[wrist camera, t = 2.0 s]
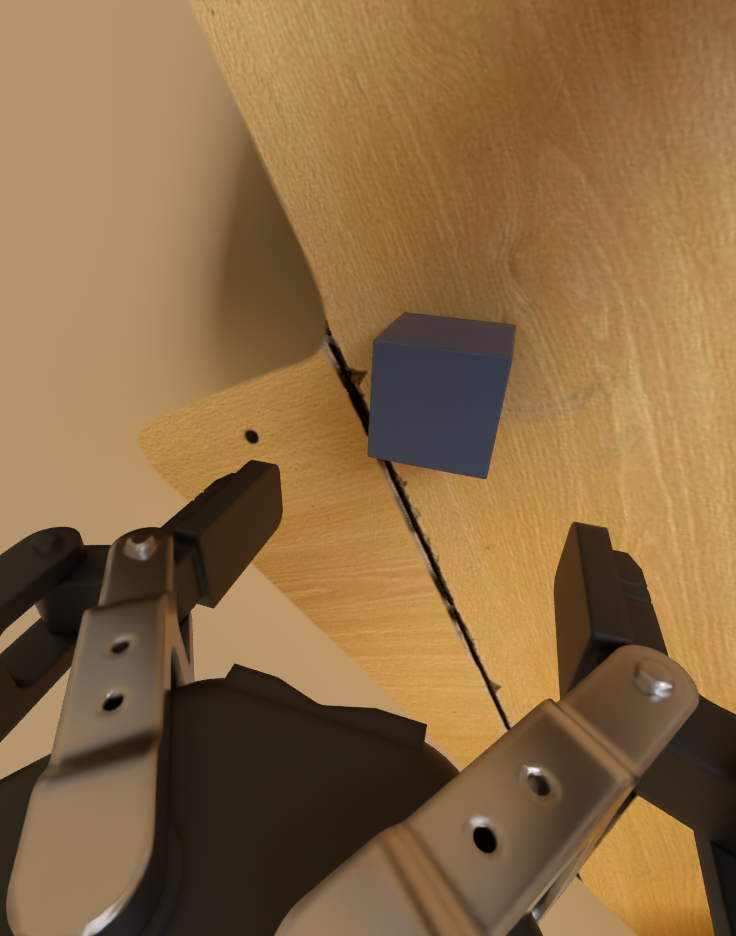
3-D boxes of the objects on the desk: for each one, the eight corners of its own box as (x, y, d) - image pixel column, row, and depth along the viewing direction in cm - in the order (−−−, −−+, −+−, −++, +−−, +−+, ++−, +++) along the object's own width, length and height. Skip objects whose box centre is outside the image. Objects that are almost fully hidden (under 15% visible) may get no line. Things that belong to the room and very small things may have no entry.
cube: (403, 311, 21) (372, 339, 17) (516, 324, 20) (512, 357, 15) (395, 412, 23) (366, 457, 19) (494, 428, 22) (486, 480, 18)
